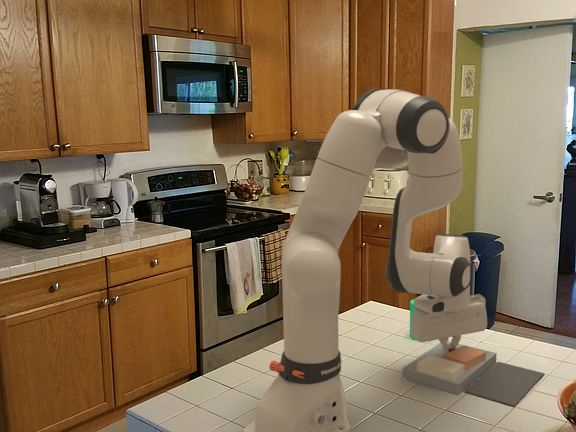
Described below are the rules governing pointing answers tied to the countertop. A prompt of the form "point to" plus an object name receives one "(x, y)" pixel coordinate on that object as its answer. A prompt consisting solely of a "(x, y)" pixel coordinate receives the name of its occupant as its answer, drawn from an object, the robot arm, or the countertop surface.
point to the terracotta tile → (466, 356)
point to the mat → (505, 383)
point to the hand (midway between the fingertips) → (449, 352)
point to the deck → (443, 384)
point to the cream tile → (441, 368)
